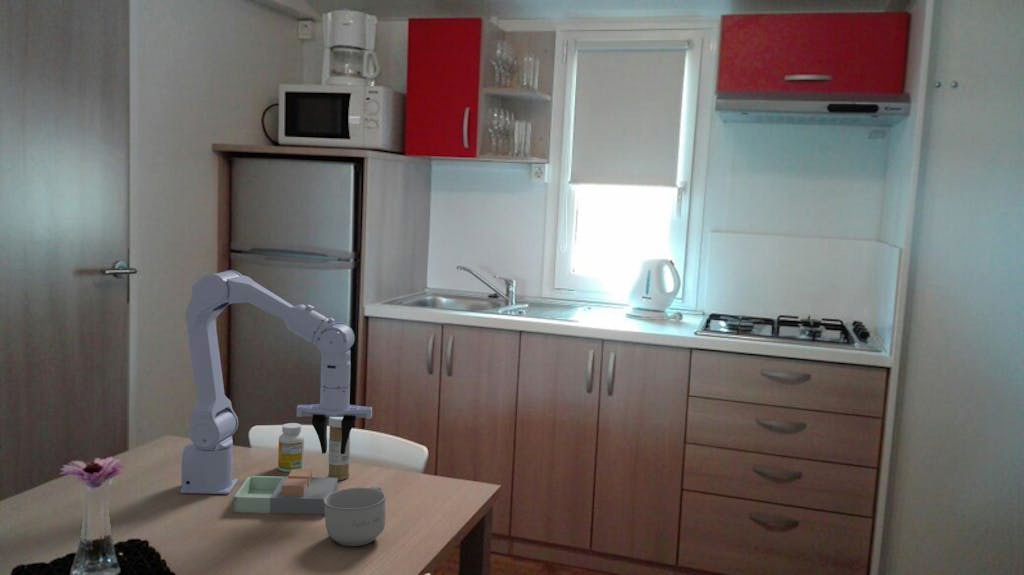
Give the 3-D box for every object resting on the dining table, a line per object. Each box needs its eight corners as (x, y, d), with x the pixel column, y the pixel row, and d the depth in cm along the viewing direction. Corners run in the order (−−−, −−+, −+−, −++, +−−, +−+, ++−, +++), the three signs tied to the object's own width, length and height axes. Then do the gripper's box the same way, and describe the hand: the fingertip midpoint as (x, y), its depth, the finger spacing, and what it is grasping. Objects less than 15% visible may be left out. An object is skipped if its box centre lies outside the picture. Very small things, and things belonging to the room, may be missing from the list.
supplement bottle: (284, 463, 190) (285, 421, 189) (307, 465, 189) (308, 423, 188) (274, 471, 185) (274, 427, 183) (297, 473, 184) (298, 429, 183)
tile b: (282, 495, 162) (282, 485, 162) (286, 488, 166) (286, 478, 166) (303, 496, 162) (303, 486, 162) (307, 488, 166) (307, 478, 166)
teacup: (356, 557, 144) (357, 512, 143) (309, 541, 149) (310, 497, 149) (408, 532, 156) (409, 489, 155) (363, 517, 161) (364, 476, 160)
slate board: (269, 513, 161) (270, 497, 161) (282, 490, 173) (282, 476, 173) (328, 514, 162) (329, 499, 162) (337, 492, 174) (337, 477, 173)
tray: (233, 512, 161) (233, 497, 160) (248, 490, 173) (248, 475, 172) (269, 513, 161) (270, 497, 161) (282, 490, 173) (282, 476, 173)
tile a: (287, 485, 168) (288, 476, 167) (291, 479, 172) (291, 469, 171) (308, 486, 168) (308, 476, 168) (311, 479, 172) (312, 469, 172)
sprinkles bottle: (343, 472, 186) (344, 412, 184) (353, 478, 182) (354, 417, 181) (323, 476, 183) (325, 414, 181) (333, 482, 179) (335, 420, 178)
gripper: (294, 388, 163) (292, 457, 165) (370, 391, 164) (368, 459, 166) (300, 380, 170) (299, 446, 172) (373, 382, 171) (372, 448, 173)
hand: (333, 452), depth 169 cm, fingers open, 3 cm apart
